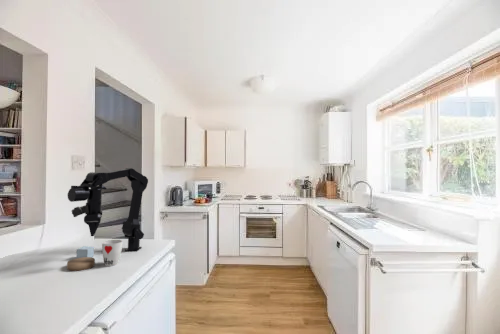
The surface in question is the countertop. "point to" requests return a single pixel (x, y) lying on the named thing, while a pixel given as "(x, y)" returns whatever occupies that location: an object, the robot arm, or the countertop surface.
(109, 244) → the cup
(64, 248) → the countertop surface
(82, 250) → the block
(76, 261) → the brown shallow bowl
